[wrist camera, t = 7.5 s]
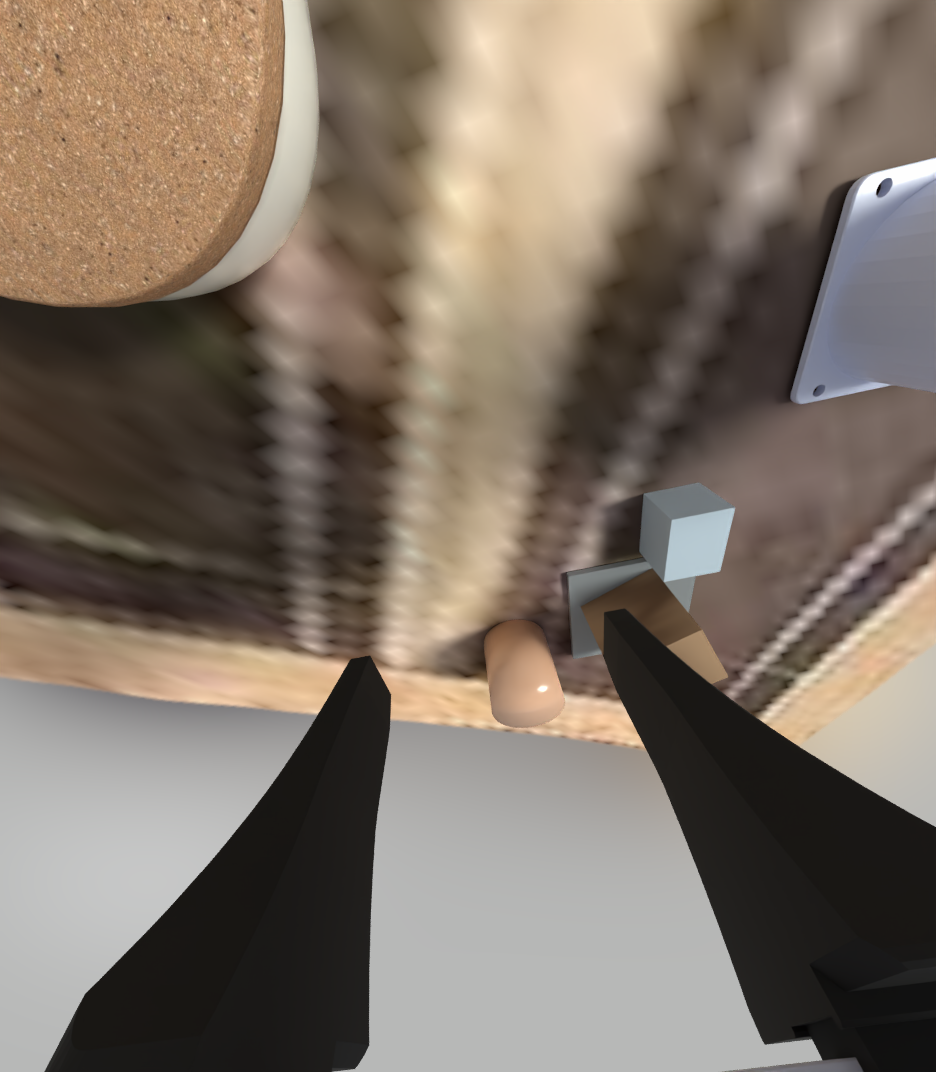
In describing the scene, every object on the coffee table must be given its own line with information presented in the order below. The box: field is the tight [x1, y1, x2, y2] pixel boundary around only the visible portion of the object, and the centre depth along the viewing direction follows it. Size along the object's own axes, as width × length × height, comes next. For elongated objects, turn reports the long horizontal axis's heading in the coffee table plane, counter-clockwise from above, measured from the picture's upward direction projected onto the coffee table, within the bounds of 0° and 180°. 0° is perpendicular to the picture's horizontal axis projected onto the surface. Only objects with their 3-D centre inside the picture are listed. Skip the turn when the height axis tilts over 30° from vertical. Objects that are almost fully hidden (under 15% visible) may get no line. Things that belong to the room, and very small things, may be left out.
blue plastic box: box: [639, 483, 735, 582], centre depth 20 cm, size 3×4×3 cm
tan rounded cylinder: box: [484, 620, 565, 728], centre depth 23 cm, size 4×4×5 cm
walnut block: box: [581, 568, 728, 684], centre depth 22 cm, size 5×5×5 cm
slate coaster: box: [567, 558, 696, 659], centre depth 24 cm, size 8×8×1 cm
